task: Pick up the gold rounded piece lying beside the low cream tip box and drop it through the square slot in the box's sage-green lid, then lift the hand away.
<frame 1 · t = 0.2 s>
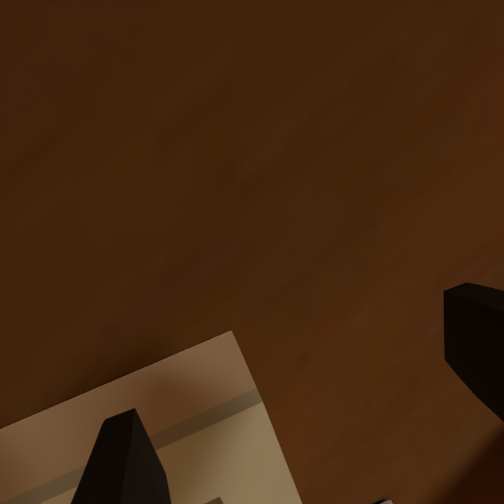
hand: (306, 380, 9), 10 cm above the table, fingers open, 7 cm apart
tip box: (167, 474, 22), on the table
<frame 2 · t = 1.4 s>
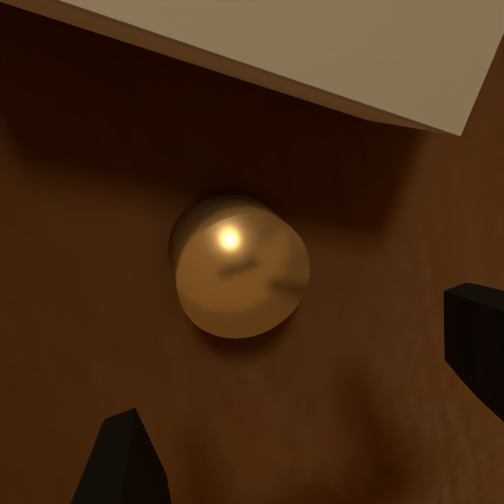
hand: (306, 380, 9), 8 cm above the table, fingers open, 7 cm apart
gold rounded piece: (226, 246, 16), on the table
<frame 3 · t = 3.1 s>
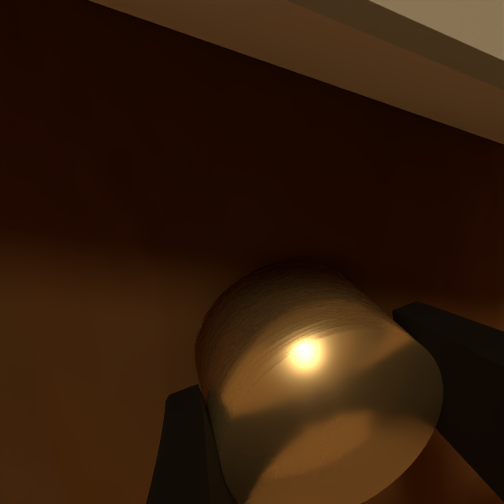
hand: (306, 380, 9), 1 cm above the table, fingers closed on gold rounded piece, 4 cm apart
gold rounded piece: (283, 343, 10), on the table, touching gripper
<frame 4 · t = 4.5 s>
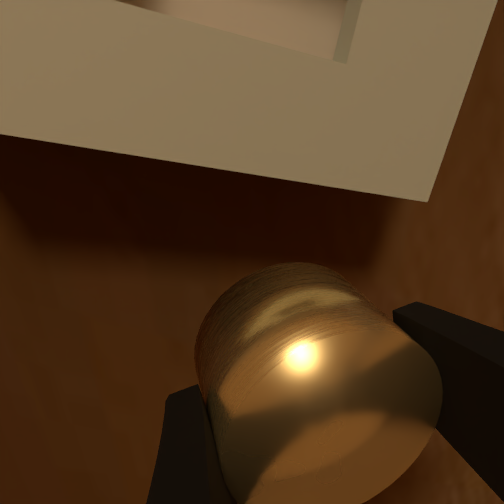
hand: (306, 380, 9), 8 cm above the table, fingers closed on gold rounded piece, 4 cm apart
gold rounded piece: (283, 344, 10), point 7 cm above the table, touching gripper
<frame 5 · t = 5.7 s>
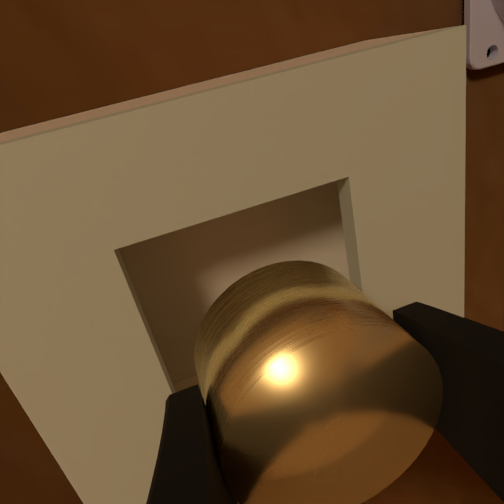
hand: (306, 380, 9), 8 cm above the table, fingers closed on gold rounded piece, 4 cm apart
tip box: (223, 244, 17), on the table
gold rounded piece: (283, 343, 10), point 7 cm above the table, touching gripper
when the fingers open (8 cm above the table, at t = 6.3 s): gold rounded piece drops 6 cm, resting on tip box.
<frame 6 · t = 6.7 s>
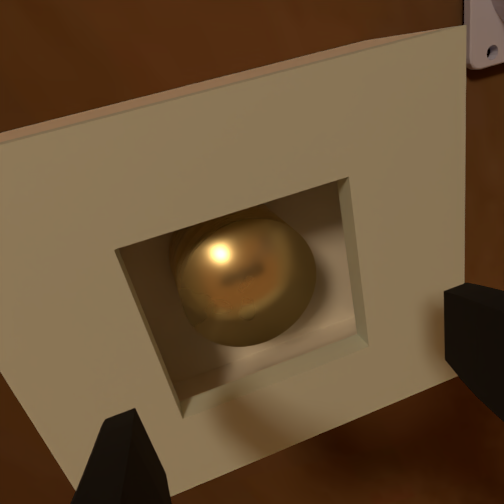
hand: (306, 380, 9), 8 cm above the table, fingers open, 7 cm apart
tip box: (223, 244, 17), on the table
gold rounded piece: (228, 251, 16), point 1 cm above the table, touching tip box
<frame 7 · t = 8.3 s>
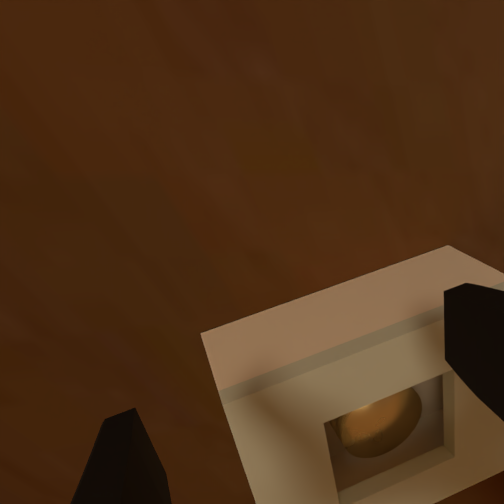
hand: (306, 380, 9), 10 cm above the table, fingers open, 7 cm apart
tip box: (344, 374, 24), on the table
gold rounded piece: (352, 383, 23), point 1 cm above the table, touching tip box
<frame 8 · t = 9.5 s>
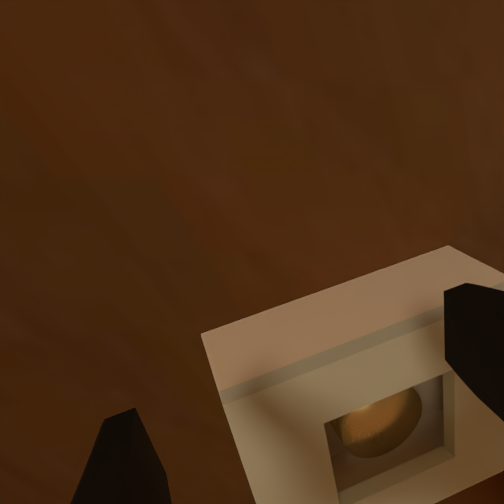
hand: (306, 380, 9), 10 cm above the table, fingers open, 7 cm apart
tip box: (344, 374, 24), on the table
gold rounded piece: (352, 383, 23), point 1 cm above the table, touching tip box
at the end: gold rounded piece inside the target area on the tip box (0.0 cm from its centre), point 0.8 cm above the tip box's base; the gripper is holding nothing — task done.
